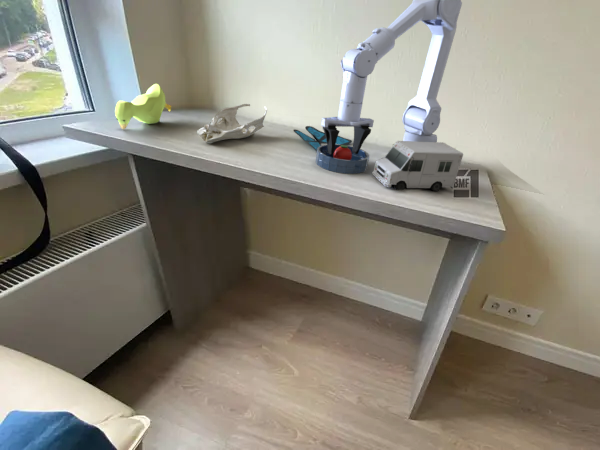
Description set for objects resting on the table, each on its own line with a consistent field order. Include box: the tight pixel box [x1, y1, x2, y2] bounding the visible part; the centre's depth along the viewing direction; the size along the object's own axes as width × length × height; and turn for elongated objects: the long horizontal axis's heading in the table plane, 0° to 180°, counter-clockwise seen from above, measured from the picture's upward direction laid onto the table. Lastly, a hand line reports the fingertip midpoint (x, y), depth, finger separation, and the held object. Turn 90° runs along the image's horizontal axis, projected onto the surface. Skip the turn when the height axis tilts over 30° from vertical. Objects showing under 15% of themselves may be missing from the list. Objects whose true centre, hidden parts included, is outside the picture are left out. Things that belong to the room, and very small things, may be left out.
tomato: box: [334, 145, 352, 160], centre depth 100 cm, size 5×5×5 cm
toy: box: [114, 83, 172, 130], centre depth 117 cm, size 6×17×20 cm
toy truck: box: [371, 140, 464, 192], centre depth 92 cm, size 13×20×10 cm, turn 90°
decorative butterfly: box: [293, 125, 353, 152], centre depth 117 cm, size 20×14×3 cm
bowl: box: [315, 144, 370, 175], centre depth 101 cm, size 14×14×4 cm
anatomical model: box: [196, 103, 268, 144], centre depth 114 cm, size 15×9×25 cm
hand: (342, 153), depth 100 cm, fingers open, 7 cm apart
